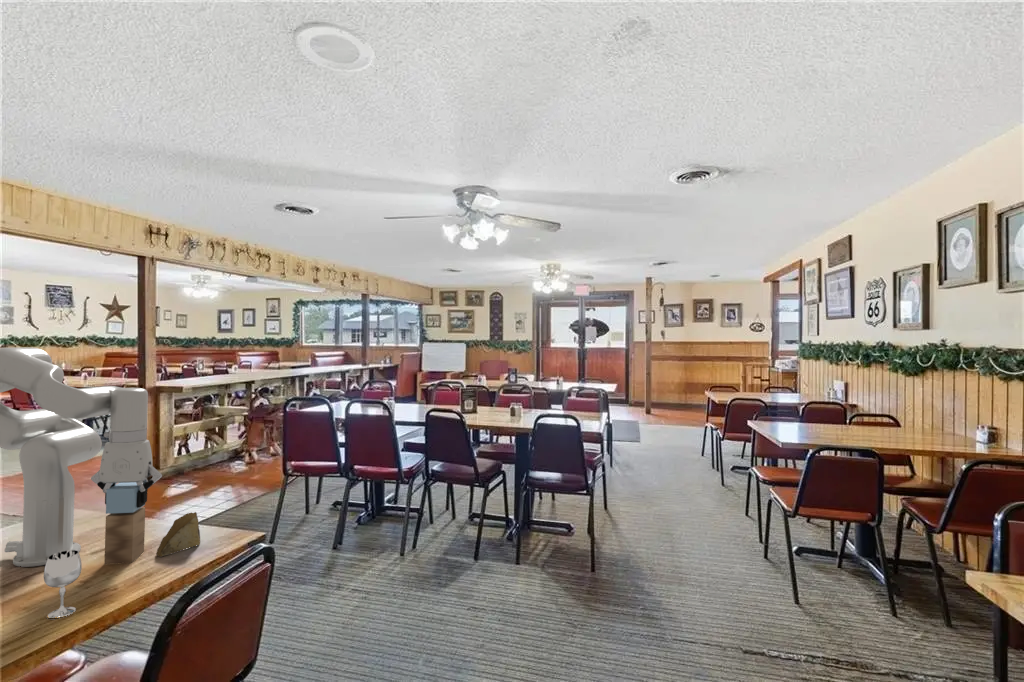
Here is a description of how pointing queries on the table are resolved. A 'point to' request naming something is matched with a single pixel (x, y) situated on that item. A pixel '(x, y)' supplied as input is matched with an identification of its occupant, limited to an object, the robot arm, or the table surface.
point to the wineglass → (62, 576)
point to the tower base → (124, 549)
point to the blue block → (122, 498)
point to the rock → (181, 535)
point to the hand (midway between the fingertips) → (126, 505)
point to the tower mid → (125, 525)
